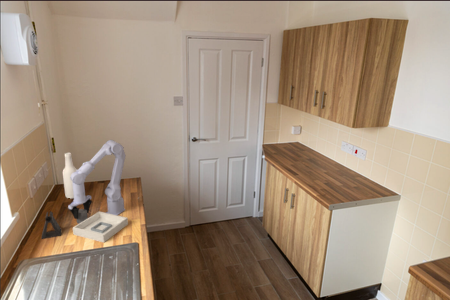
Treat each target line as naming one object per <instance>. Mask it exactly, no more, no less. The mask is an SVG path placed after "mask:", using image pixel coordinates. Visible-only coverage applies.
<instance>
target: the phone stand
mask: <svg viewBox="0 0 450 300" xmlns="http://www.w3.org/2000/svg"><path fill="white" fill-rule="evenodd" d="M49 224H50V225H51V226H52V228H53V230H51V231H48V225H49ZM61 236H62V228H61V227H60V225H59V223H58V221H57V220H56V218H55V217H54V213H53V211H46V214H45V222H44V225H43V230H42V233H41V238H40V239H41V240H44V239H46V240H47V239H51V238H56V237H61Z"/></svg>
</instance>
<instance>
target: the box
mask: <svg viewBox="0 0 450 300" xmlns="http://www.w3.org/2000/svg"><path fill="white" fill-rule="evenodd" d="M128 225H129V219H128V217H127V216H123V215H122V216H121V215H113V214H109V213H106V212H104V211H96V213H94V214H93V215H91V216H89V217H88V219H86V220H84V221H83V222H81V223H77V225H75V226H73V227H72V234H73V235H75V236H77V237H82V238H85V239H89V240H93V241H97V242H100V243H105V242H106V241H108V240H109V239H110V238H112V237H113V236H115V234H117V233H119V232H120V231H121V230H122V229H123V228H125V227H127V226H128Z"/></svg>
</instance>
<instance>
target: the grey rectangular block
mask: <svg viewBox="0 0 450 300" xmlns="http://www.w3.org/2000/svg"><path fill="white" fill-rule="evenodd" d="M88 218H89V217H88V213H87V210H84V208H79V211H78V219H76V223H77V224H79V223H81V222H83V221H84V220H86V219H88Z"/></svg>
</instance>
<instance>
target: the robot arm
mask: <svg viewBox="0 0 450 300" xmlns="http://www.w3.org/2000/svg"><path fill="white" fill-rule="evenodd" d="M110 155H113V156H114V157H115V158H114V163H113V167H112V173H111V177H110V182H109V183H108V184H107V187H106V188H105V190H104V194H105V195H106V197H107V198H106V204H107V211H106V212H105V213H109V214H113V215H117V216H119V215H120V214H122V213H123V212H125V211H126V208H125V201H124V198H123V196H122V191H121V190H122V188H121V184H120V183H121V179H122V174H123V170H124V166H125V159H126V152H125V150H124V146H123V145H122V144H121V143H119V142H117V141H116V140H113V139H109V140H107V141H106V142H105V143H104V144H103V145H102V147H101V148H100V149H99V150H98V151H97V152H96V153H95V154H94V156H93V157H92V158H91V159H90V160H89V161H85V162H83V163H82V165H81V166H80V167H79V168H77V170H76V172H73V173H72V174H71V177H70V179H71V180H72V181H73V182H72V183H73V194H74V198H73V201H72V202H71V203H70V204H68V207H67V209H68V210H69V211H70V212H71V214H72V215H73V219H75V220H77V219H78V211H79V210H80V208H78V207H77V206H79V205H83V209H84V210H87V214H88V213H90V207H91V204H92V203H93V201H92V195H86V190H85V189H86V188H85V181H86V178H87V176H89V175H90V174H91V173H92V172H93V170H95V166H96V165H97V164H98V163H99V162H100V161H101V160H102V159H103V158H104V157H106V156H110Z"/></svg>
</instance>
